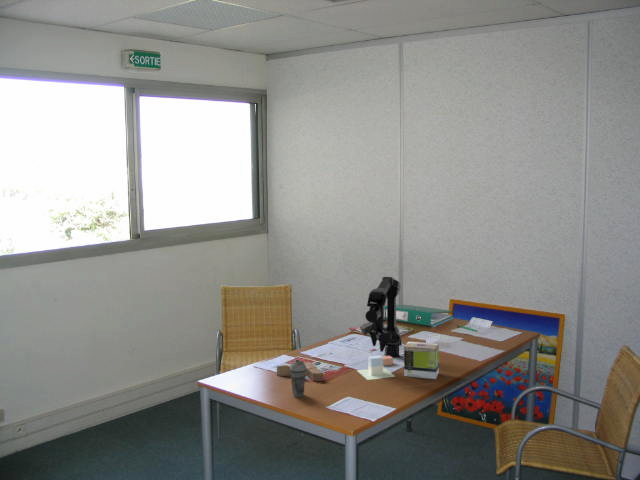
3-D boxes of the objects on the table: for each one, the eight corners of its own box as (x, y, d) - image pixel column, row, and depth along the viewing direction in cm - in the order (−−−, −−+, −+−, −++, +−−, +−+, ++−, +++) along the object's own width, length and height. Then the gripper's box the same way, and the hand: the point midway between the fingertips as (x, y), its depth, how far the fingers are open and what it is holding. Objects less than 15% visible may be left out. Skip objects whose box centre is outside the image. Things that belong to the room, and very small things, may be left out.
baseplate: (383, 368, 306) (383, 367, 306) (395, 377, 293) (395, 376, 293) (356, 371, 302) (356, 370, 302) (367, 380, 288) (367, 379, 288)
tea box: (439, 373, 298) (439, 342, 296) (435, 380, 288) (436, 348, 287) (407, 370, 303) (407, 340, 301) (403, 376, 293) (403, 346, 292)
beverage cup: (289, 392, 275) (288, 348, 272) (306, 391, 275) (305, 347, 273) (290, 398, 267) (289, 353, 265) (307, 398, 268) (306, 352, 266)
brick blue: (379, 363, 299) (379, 355, 299) (383, 365, 296) (383, 357, 295) (368, 364, 298) (368, 356, 297) (371, 367, 294) (371, 358, 293)
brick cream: (379, 371, 300) (379, 363, 299) (383, 374, 296) (383, 365, 296) (368, 372, 298) (368, 364, 298) (371, 375, 294) (371, 367, 294)
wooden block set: (309, 359, 304) (323, 370, 288) (309, 370, 305) (323, 382, 289) (276, 363, 298) (289, 375, 281) (276, 375, 298) (289, 387, 282)
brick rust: (389, 363, 313) (389, 355, 313) (393, 365, 310) (393, 357, 309) (378, 364, 311) (378, 357, 311) (382, 367, 308) (382, 359, 307)
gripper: (354, 313, 303) (355, 345, 305) (369, 323, 285) (369, 356, 287) (376, 311, 306) (376, 342, 308) (391, 321, 289) (391, 353, 291)
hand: (377, 348), depth 299 cm, fingers open, 9 cm apart
